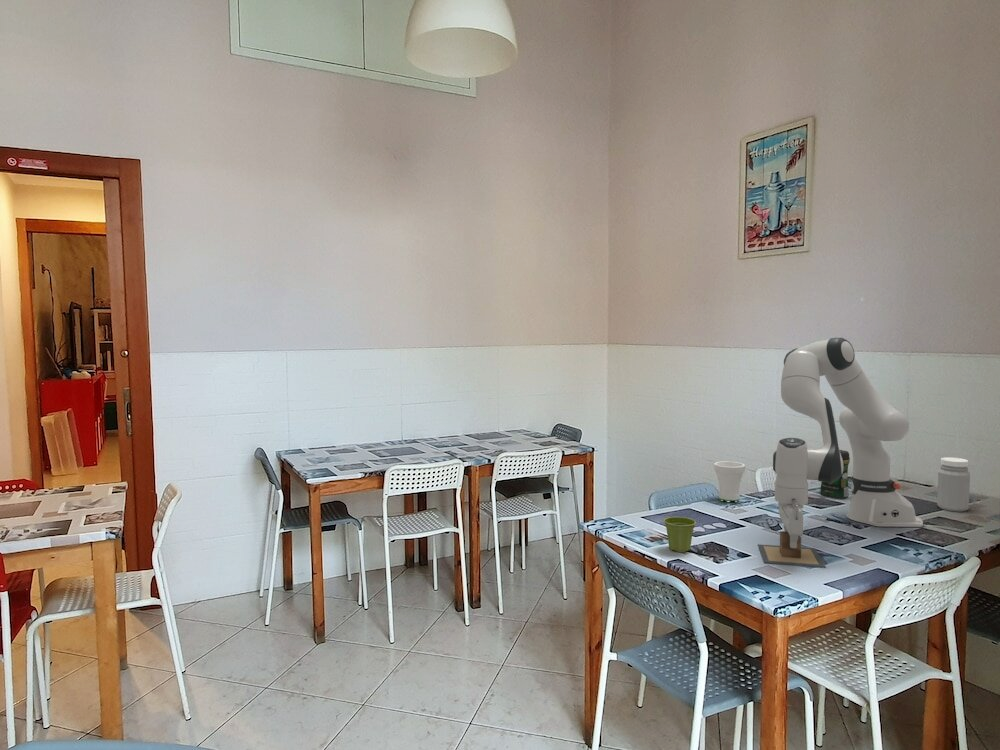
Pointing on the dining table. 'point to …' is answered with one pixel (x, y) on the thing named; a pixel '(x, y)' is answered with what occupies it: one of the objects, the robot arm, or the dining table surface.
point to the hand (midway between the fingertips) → (790, 542)
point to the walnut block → (785, 547)
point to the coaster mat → (807, 558)
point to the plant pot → (679, 533)
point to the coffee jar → (838, 481)
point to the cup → (729, 479)
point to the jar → (953, 484)
